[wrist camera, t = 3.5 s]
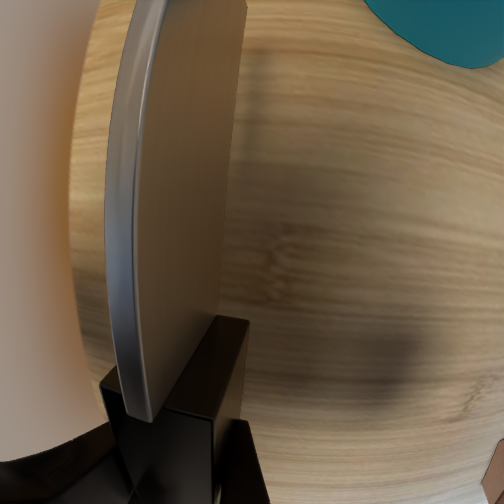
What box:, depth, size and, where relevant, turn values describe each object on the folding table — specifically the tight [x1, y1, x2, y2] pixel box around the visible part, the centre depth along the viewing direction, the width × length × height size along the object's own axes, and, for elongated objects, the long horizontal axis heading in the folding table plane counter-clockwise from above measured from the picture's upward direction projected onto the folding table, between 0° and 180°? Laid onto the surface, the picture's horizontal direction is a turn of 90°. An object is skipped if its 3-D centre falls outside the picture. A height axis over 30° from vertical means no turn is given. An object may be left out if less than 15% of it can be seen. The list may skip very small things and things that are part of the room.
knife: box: [99, 0, 250, 504], centre depth 6 cm, size 16×2×4 cm, turn 174°
